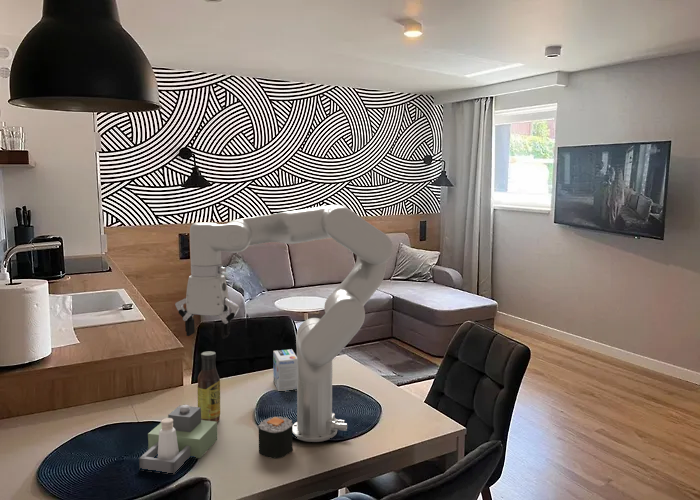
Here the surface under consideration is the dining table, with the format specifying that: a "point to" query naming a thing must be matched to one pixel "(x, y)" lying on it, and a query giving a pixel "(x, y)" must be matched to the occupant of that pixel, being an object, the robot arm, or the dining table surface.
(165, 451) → the pepper shaker
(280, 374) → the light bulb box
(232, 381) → the dining table surface
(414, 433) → the dining table surface
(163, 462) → the green and grey machine
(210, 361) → the sauce bottle
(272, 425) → the sushi
